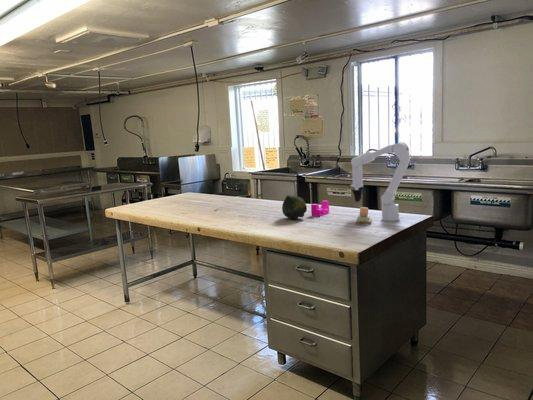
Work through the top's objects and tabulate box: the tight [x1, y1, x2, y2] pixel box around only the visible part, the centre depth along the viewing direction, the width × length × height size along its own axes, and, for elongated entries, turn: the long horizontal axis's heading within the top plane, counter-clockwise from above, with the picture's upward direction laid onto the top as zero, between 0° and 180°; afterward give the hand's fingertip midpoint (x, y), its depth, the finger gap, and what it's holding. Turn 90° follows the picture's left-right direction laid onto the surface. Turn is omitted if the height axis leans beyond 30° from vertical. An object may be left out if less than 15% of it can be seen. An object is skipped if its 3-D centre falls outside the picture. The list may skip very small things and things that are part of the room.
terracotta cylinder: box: [359, 206, 369, 217], centre depth 233 cm, size 4×4×4 cm
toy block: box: [310, 200, 330, 217], centre depth 264 cm, size 15×6×8 cm, turn 141°
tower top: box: [356, 214, 370, 221], centre depth 234 cm, size 6×6×2 cm
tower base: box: [355, 218, 373, 226], centre depth 234 cm, size 8×8×2 cm
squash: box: [281, 195, 308, 221], centre depth 255 cm, size 14×15×15 cm
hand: (358, 200), depth 246 cm, fingers open, 7 cm apart
